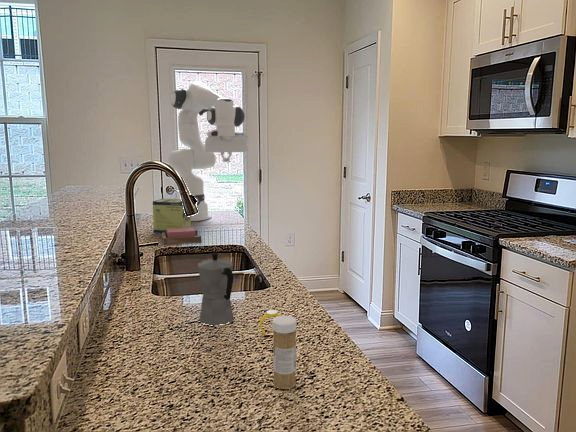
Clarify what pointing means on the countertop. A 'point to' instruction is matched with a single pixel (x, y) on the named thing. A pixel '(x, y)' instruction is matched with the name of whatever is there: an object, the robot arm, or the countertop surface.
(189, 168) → the robot arm
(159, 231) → the protein box
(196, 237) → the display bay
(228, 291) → the coffeepot
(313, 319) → the countertop surface
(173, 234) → the carton
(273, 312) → the watch
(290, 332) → the sprinkles bottle
